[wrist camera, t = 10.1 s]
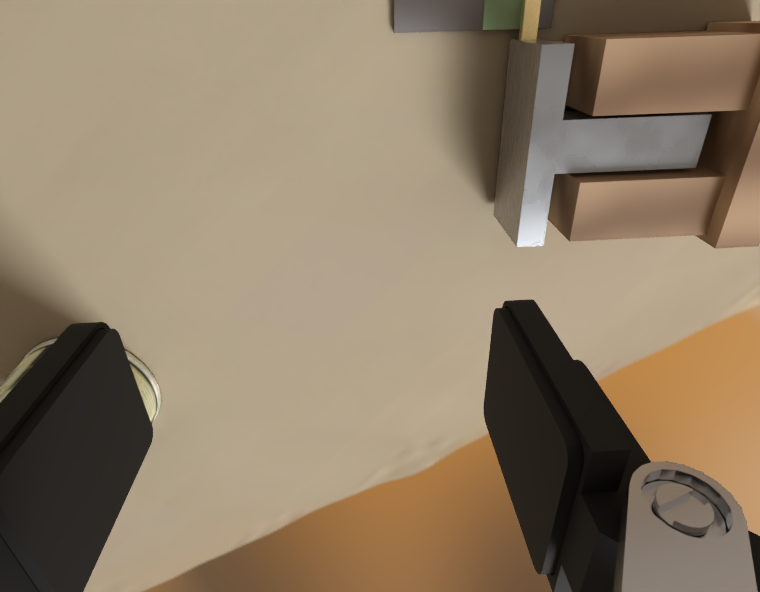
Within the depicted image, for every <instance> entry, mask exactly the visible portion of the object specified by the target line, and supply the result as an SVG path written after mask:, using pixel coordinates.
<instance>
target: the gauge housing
mask: <svg viewBox="0 0 760 592" xmlns="http://www.w3.org/2000/svg"><path fill="white" fill-rule="evenodd" d="M554 1H555V0H541V6H540V14H539V23H538V28H551V24H552V17H553V9H554ZM522 2H523V0H394V33H406V32H437V31H467V30H500V29H520V21H521V12H522ZM564 42H566V43H574V44H575V45H574V51H573V58H572V64H571V71H570V77H569V84H568V90H567V97H566V103H565V105H567V106H569V107H572V108H574V109H577V110H579V111H581V112H584V113H586V114H589V115H591V116H608V115H634V114H659V113H684V112H705V113H709V114H712V116H711V120H710V123H709V126H708V130H707V133H706V136H705V140H704V143H703V146H702V149H701V153H700V156H699V159H698V163H697V166H696V168H681V169H658V170H635V171H612V172H589V173H566V174H554V180H553V187H552V193H551V200H550V206H549V212H548V220H549V221H550V222H551V223H552V224H553V225H554V226H555V227H556V228H557V229H558V230H559V231H560V232H561V233H562V234H563V235H564V236H565V237H566V238H567V239H568V240H569V241H588V240H609V239H629V238H650V237H670V236H691V235H695V236H697V237H698V238H700V239H701V240H703V241H705V242H706V243H708V244H709V245H711V246H712V247H714V248H732V247H752V246H759V244H760V21H735V22H708V25H707V29H706V31H678V32H648V33H618V34H588V35H565V40H564Z"/></svg>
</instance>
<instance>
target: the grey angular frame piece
mask: <svg viewBox="0 0 760 592" xmlns="http://www.w3.org/2000/svg"><path fill="white" fill-rule="evenodd" d="M540 6H541V0H523V2H522V12H521V21H520V31H519V39H517V40H510V47H509V58H508V68H507V79H506V89H505V100H504V110H503V121H502V131H501V142H500V152H499V163H498V173H497V183H496V194H495V204H494V216H495V218H496V219H497V220H498V222H499V223H500V224H501V226H502V227H503V229H504V230H505V231H506V233H507V234H508V236H509V237H510V238H511V240H512V241H513V242H514V244H515V245H516V247H524V246H543V245H544V238H545V232H546V225H547V219H548V212H549V206H550V200H551V193H552V187H553V180H554V174H566V173H589V172H612V171H635V170H658V169H681V168H696V166H697V163H698V159H699V156H700V153H701V149H702V146H703V143H704V140H705V136H706V133H707V130H708V126H709V123H710V120H711V116H712V114H709V113H705V112H684V113H659V114H634V115H608V116H591V115H589V114H586V113H584V112H581V111H565V112H564V109H565V103H566V97H567V90H568V84H569V77H570V71H571V64H572V58H573V51H574V45H575V44H574V43H566V42H559V41H551V40H543V39H537V31H538V23H539V14H540Z"/></svg>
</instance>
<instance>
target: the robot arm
mask: <svg viewBox="0 0 760 592" xmlns="http://www.w3.org/2000/svg"><path fill="white" fill-rule="evenodd" d="M484 417H485V422H486V425H487V428H488V431H489V434H490V437H491V440H492V443H493V446H494V449H495V452H496V455H497V458H498V461H499V464H500V467H501V470H502V473H503V476H504V479H505V482H506V485H507V488H508V491H509V494H510V497H511V500H512V503H513V506H514V509H515V512H516V515H517V518H518V520H519V523H520V527H521V529H522V532H523V535H524V538H525V541H526V544H527V547H528V550H529V553H530V556H531V559H532V562H533V565H534V567H535V569H536V571H537V573H538V574H546V575H547V577H548V580H549V583H550V586H551V589H552V592H760V536H758V535H756V534H754V533H752V532H750V531H748V528H747V522H746V519H745V516H744V513H743V511H742V508H741V506H740V505H739V504H738V502H737V501H736V500H735V498H734V497H733V495H732V494H731V493H730V492H729V491H727V490H726V489H725V488H724V487H723V486H722V485H721V484H720V483H718V482H717V481H716V480H714V479H712V478H711V477H709V476H708V475H706V474H704V473H703V472H701V471H698V470H696V469H694V468H691V467H689V466H686V465H683V464H678V463H673V462H668V461H665V462H651V461H650V460H649V458H648V457H647V455H646V454H645V452H644V451H643V449H642V448H641V447H640V445H639V444H638V442H637V441H636V439H635V438H634V436H633V435H632V433H631V432H630V430H629V429H628V427H627V426H626V424H625V423H624V421H623V420H622V418H621V417H620V415H619V414H618V413H617V411H616V410H615V408H614V407H613V405H612V404H611V402H610V401H609V399H608V398H607V396H606V395H605V393H604V392H603V390H602V389H601V387H600V386H599V384H598V383H597V381H596V380H595V379H594V377H593V376H592V374H591V373H590V371H589V370H588V368H587V367H586V366H585V365H584V363H583V362H581V361H579V360H573V359H572V357H571V356H570V354H569V353H568V351H567V350H566V348H565V347H564V345H563V343H562V342H561V340H560V339H559V337H558V336H557V334H556V333H555V331H554V330H553V328H552V327H551V325H550V324H549V322H548V320H547V319H546V317H545V316H544V314H543V313H542V311H541V310H540V308H539V307H538V305H537V304H536V302H535V301H534V300H514V301H505V302H504V304H503V307H502V308H496V309H495V311H494V315H493V324H492V334H491V343H490V352H489V362H488V371H487V380H486V390H485V399H484ZM152 438H153V428H152V424H151V421H150V418H149V416H148V413H147V410H146V407H145V405H144V402H143V399H142V396H141V393H140V391H139V388H138V385H137V382H136V380H135V377H134V374H133V371H132V369H131V366H130V363H129V360H128V357H127V355H126V352H125V349H124V346H123V344H122V341H121V338H120V335H119V333H118V332H117V331H116V330H115V329H110V328H109V326H108V325H107V324H106V323H103V322H97V323H78V324H71V325H70V326H69V327H68V328H67V329H66V330H65V331H64V332H63V333H62V334H61V335H60V336H59V338H58V339H57V340H56V341H55V342H54V343H53V344H52V345H51V346H50V348H49V349H48V350H47V351H46V352H45V353H44V354H43V355H42V356H41V358H40V359H39V360H38V361H37V362H36V363H35V364H34V365H33V367H32V368H31V369H30V370H29V371H28V372H27V373H26V374H25V375H24V377H23V378H22V379H21V380H20V381H19V382H18V383H17V384H16V385H15V387H14V388H13V389H12V390H11V391H10V392H9V393H8V394H7V396H6V397H5V398H4V399H3V400H2V401H1V402H0V592H83V591H84V589H85V586H86V584H87V582H88V580H89V578H90V576H91V573H92V571H93V569H94V567H95V565H96V562H97V560H98V558H99V556H100V554H101V552H102V549H103V547H104V545H105V543H106V541H107V539H108V536H109V534H110V532H111V530H112V528H113V525H114V523H115V521H116V519H117V517H118V515H119V512H120V510H121V508H122V506H123V504H124V502H125V499H126V497H127V495H128V493H129V491H130V488H131V486H132V484H133V482H134V480H135V478H136V475H137V473H138V471H139V469H140V467H141V465H142V462H143V460H144V458H145V456H146V454H147V451H148V449H149V447H150V445H151V442H152Z"/></svg>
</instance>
